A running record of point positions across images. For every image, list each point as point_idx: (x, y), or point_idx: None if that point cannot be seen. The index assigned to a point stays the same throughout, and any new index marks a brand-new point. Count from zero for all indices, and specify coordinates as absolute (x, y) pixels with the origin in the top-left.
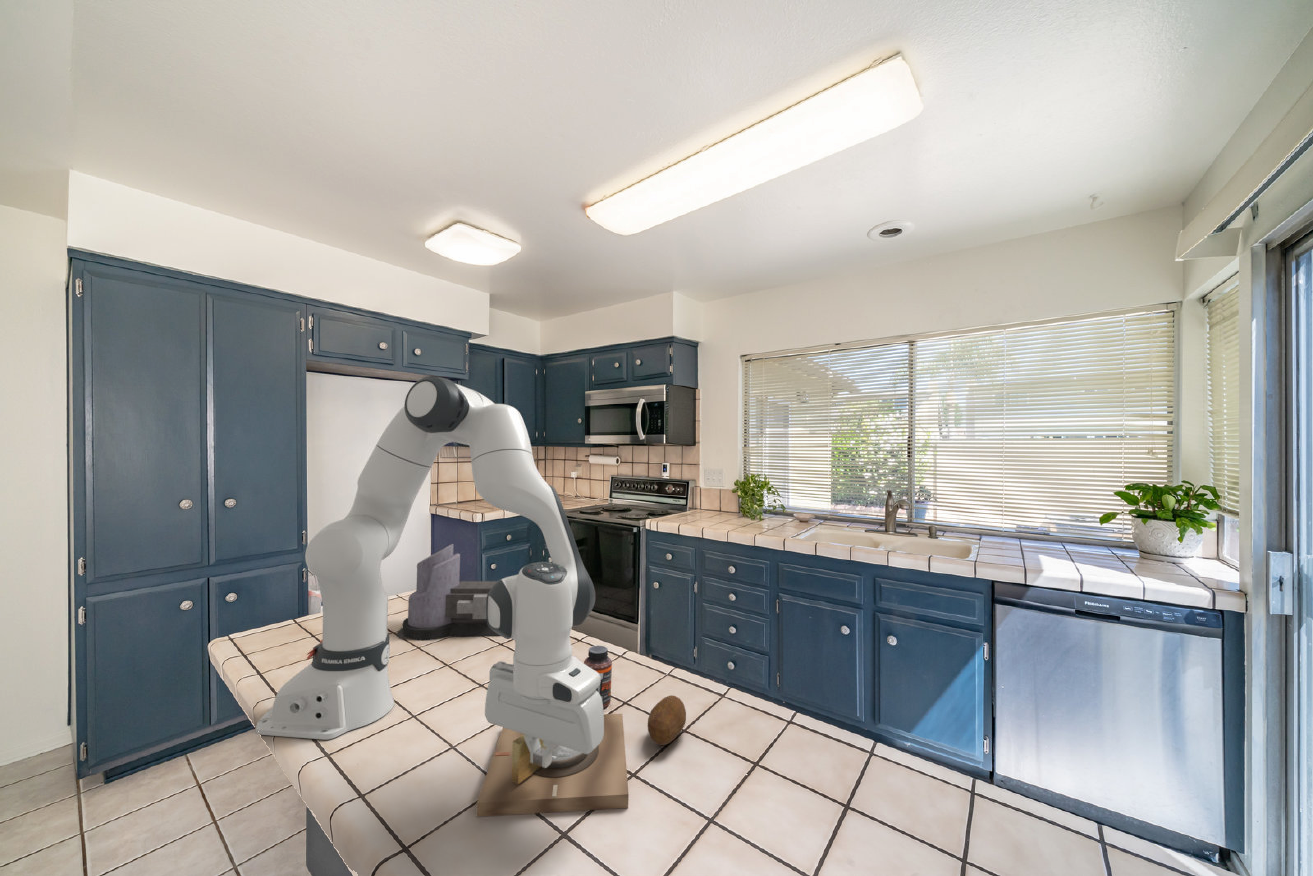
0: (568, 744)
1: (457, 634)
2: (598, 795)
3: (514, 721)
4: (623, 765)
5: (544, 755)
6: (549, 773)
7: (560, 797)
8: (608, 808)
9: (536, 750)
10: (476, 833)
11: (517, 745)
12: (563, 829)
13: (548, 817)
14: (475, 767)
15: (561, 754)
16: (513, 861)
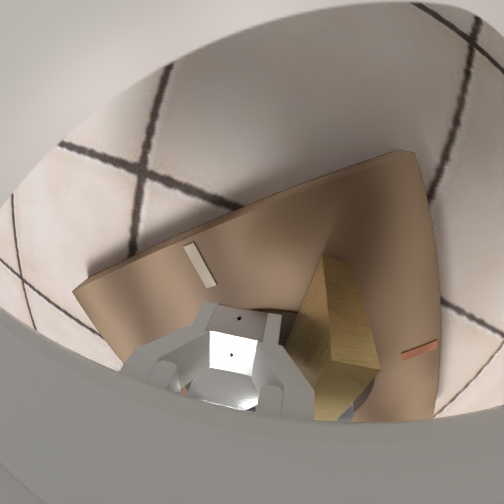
0: (4, 328)
1: None
2: (105, 277)
3: (386, 480)
4: (124, 360)
5: (191, 332)
6: None
7: (172, 247)
8: (108, 268)
9: (254, 357)
10: (362, 95)
11: (344, 356)
12: (150, 184)
13: (203, 205)
14: (465, 308)
15: (221, 371)
16: (207, 54)
